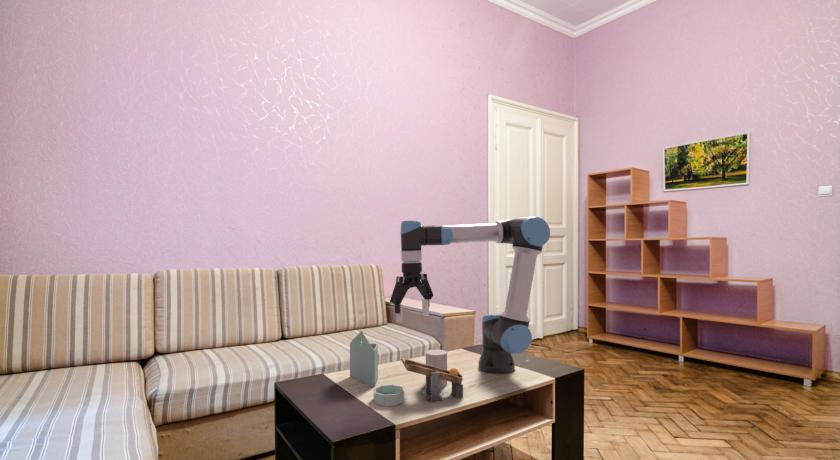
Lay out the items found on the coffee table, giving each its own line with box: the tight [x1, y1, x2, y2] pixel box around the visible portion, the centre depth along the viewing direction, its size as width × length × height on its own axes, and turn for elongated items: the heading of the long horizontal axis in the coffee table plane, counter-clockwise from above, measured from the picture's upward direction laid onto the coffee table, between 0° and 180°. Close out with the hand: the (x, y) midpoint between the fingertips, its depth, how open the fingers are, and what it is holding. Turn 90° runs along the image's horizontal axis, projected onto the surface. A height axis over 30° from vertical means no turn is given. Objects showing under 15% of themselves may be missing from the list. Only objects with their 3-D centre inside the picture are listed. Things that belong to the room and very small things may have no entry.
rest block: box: [451, 382, 464, 399], centre depth 157 cm, size 2×6×4 cm, turn 12°
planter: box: [349, 330, 379, 388], centre depth 173 cm, size 16×8×20 cm, turn 41°
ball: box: [448, 367, 460, 376], centre depth 156 cm, size 4×4×4 cm
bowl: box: [373, 384, 405, 407], centre depth 152 cm, size 10×10×4 cm
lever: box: [400, 357, 464, 384], centre depth 158 cm, size 20×13×3 cm
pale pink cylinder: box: [425, 349, 448, 388], centre depth 168 cm, size 8×8×12 cm
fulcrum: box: [422, 365, 444, 404], centre depth 155 cm, size 5×10×10 cm, turn 12°
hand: (413, 319), depth 164 cm, fingers open, 13 cm apart
